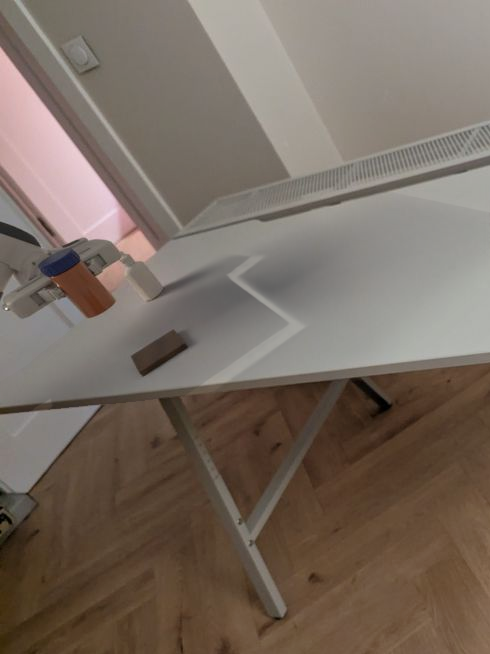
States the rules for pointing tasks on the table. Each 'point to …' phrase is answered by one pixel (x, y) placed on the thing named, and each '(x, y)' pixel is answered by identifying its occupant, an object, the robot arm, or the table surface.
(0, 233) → the robot arm
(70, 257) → the lid
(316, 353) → the table surface
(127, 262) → the eye dropper bottle
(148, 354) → the board
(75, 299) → the jar
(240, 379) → the table surface
